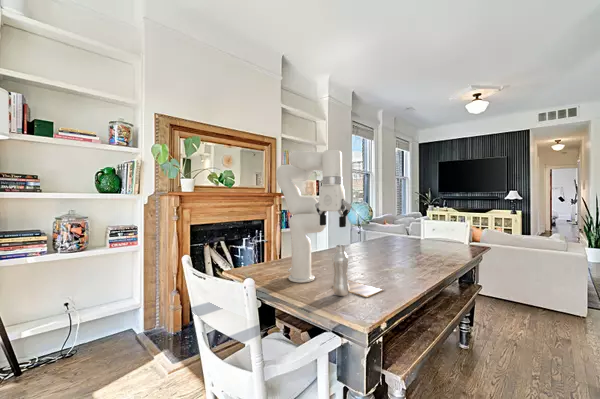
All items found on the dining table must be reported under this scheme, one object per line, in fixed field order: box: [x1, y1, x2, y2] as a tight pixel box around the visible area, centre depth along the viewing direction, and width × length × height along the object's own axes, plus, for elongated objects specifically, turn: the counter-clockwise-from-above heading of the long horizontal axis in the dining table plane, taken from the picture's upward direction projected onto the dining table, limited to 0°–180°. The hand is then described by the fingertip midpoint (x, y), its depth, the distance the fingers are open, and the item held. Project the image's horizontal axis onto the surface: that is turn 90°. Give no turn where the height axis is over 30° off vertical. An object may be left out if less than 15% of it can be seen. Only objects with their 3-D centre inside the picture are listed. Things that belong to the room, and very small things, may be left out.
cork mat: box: [332, 279, 384, 298], centre depth 122 cm, size 18×12×1 cm, turn 42°
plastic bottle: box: [332, 244, 350, 297], centre depth 115 cm, size 6×7×20 cm
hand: (332, 226), depth 110 cm, fingers open, 9 cm apart
